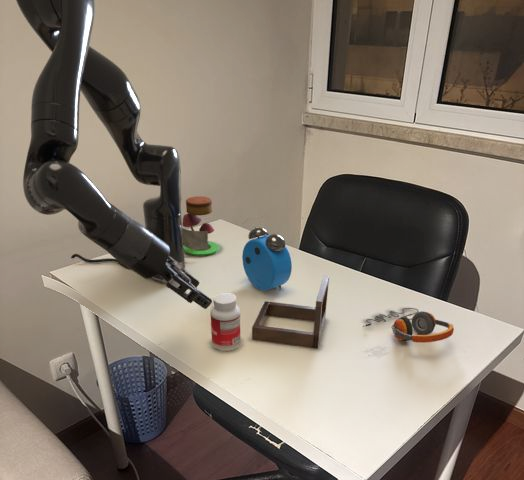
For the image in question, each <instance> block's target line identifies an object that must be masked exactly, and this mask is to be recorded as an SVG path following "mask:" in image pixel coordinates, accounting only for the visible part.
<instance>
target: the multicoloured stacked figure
mask: <svg viewBox="0 0 524 480" xmlns="http://www.w3.org/2000/svg"><path fill="white" fill-rule="evenodd" d="M212 201H213V200H212V199H211V198H210V197H208V196H202V195H199V196H190V197H187V198H186V199H185V206H186V210H185V211H186V214H184V215H183V217H182V233H183V246H184V253H186V254H188V255H189V256H195V257H205V256H210V255H214V254H216V253H218V252H219V250H220V246H219V244H217V243H216V242H213V241H210V240H209V241H208V239H209V235H210V234H212V233H214V232H215V228H214V227H213V226H212V225H211V224H210V223H208V222H204V223H202V224H201V226H199V227H200V228H199V230H195V229H194V227H195V226H197V225H199V224H200V223H201V222H202V218H200V217H199V216H206V215H209V214H212V212H213V202H212ZM183 227H184V228H183ZM185 228H190V229H185ZM208 234H209V235H208Z"/></svg>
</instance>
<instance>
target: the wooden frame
mask: <svg viewBox="0 0 524 480" xmlns="http://www.w3.org/2000/svg"><path fill="white" fill-rule="evenodd" d="M329 281H330V276H329V275H323V277H322V280H321V284H320V286H319V290H318V294H317V296H316V299H315V306H309V305H301V304H291V303H286V302H285V303H284V302H276V301H268V300H267V301H266V300H265V301H264V302H263V304H262V306H261V308H260V310H259V313H258V314H257V317H256V319H255V321H254V323H253V325H252V327H251V340H252V341H257V342H266V343H272V344H273V343H274V344H282V345H289V346H296V347H303V348H310V349H319V345H320V341H321V339H322V334H323V330H324V327H325V326H324V325H325V322H326V314H327V305H328V304H327V303H328V293H329V284H330V283H329ZM269 317H274V318H282V319H290V320H298V321H305V322H313V331H306V330H298V329H291V328H282V327H274V326H268V325H266V322H267V320H268V319H269Z"/></svg>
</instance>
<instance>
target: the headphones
mask: <svg viewBox="0 0 524 480" xmlns="http://www.w3.org/2000/svg"><path fill="white" fill-rule="evenodd" d="M405 310H416V312H413V313H408V314H406V315H403V316H400V315H401V314H404V313H405ZM411 316H412V318H409V317H411ZM392 317H394V318H396V320H394V322H393V324H392V325H391V327H390V328H391V330H392V333H393V335H394V337H395V338H396V339H397V340H399V341H403V342H410V341H411V342H413V343H433V342H439V341H442V340H445V339H448V338H450V337H451V336H453V335H454V330H455V328H454V324H453V323H451V322H448V321H444V320H440V319H436V318H435V316H434V314H432V313H430V312H428V311H420V310H419V309H418V308H415V307H404V308H402V312H398V311H397V312H396V311H393V310H390V311H389V314H387V315H386V314H378V315H375V316H374V318H367V319H365V322H366V323H367V324H364V325H362V328H364V327H365V328H366V327H370V326H371V325H372V324H373V323H372V321H374V322H376V323H380V322H384V323H386V322H387V320H386V319H385V318H388V319H392ZM370 321H371V322H370ZM436 325H437V326H441V327H445V328H447V329H445V330H443V331H440V332H437V333H433V332H434V330H435V327H436ZM414 331H415V332H416V334H413V333H414ZM431 333H432V334H431Z"/></svg>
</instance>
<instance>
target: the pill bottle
mask: <svg viewBox="0 0 524 480" xmlns="http://www.w3.org/2000/svg"><path fill="white" fill-rule="evenodd" d="M237 303H238V301H237V296H236V295H235V294H233V293H229V292H222V293H217V294H215V295H214V296H213V300H212V304H213V305H212V307H211V309H210V313H209V314H210V332H211V333H210V334H211V344H212V347H213V348H215V349H217V350H219V351H223V352H229V351H232V350H236V349H237V348H238V347H239V346H240V345H241V340H242V339H241V337H242V336H241V309H240V307H239V306H238V305H237Z"/></svg>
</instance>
